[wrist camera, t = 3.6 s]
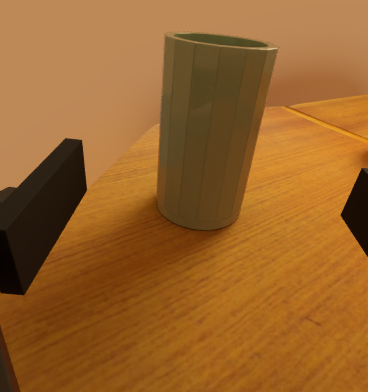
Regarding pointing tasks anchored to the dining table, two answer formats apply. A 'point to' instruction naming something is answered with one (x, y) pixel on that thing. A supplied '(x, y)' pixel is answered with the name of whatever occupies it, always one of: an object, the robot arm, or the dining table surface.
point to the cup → (209, 124)
